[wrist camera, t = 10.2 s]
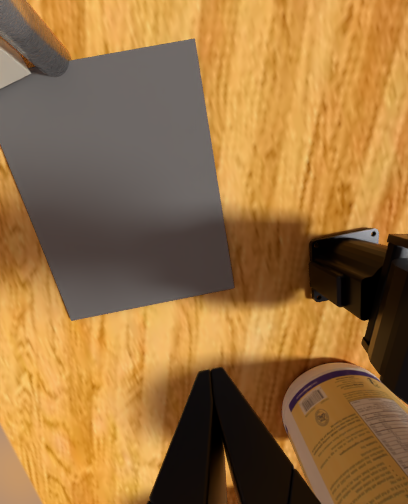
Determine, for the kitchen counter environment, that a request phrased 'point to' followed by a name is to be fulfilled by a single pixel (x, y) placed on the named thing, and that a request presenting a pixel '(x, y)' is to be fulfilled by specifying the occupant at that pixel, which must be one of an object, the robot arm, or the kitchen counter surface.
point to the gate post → (32, 37)
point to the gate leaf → (11, 65)
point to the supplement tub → (348, 435)
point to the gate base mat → (120, 178)
